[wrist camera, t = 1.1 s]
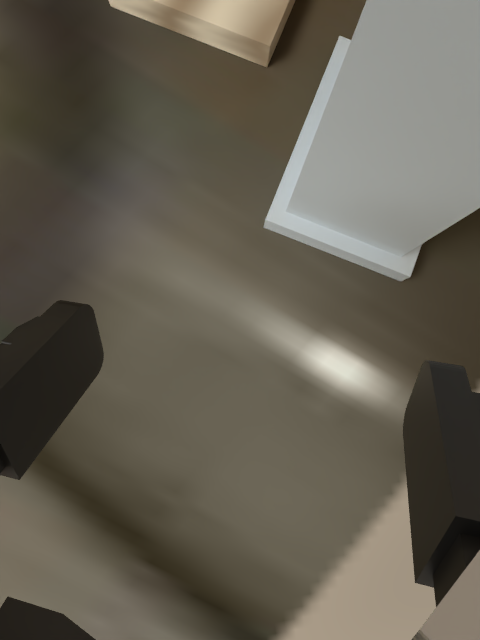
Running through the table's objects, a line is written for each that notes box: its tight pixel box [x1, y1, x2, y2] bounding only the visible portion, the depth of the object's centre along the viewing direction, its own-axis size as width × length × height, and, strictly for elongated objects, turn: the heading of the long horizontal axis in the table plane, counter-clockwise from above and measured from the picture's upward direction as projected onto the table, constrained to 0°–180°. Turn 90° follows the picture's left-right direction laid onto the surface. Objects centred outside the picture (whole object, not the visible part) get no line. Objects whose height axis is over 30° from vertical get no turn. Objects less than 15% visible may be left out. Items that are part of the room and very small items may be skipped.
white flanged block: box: [264, 0, 480, 281], centre depth 18 cm, size 10×14×22 cm
